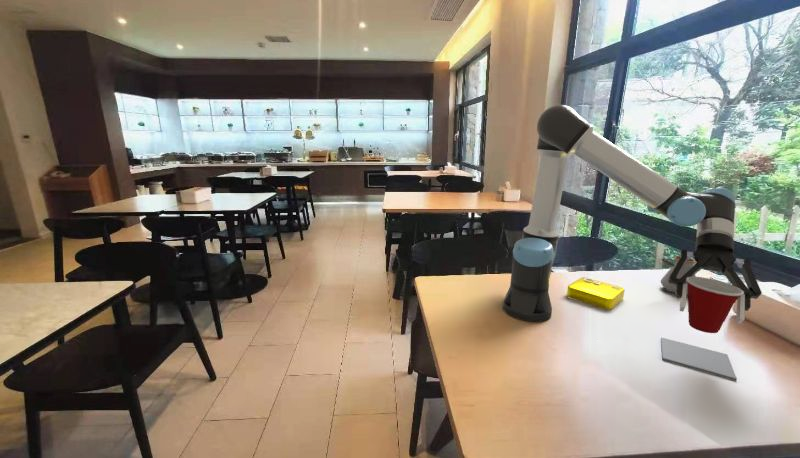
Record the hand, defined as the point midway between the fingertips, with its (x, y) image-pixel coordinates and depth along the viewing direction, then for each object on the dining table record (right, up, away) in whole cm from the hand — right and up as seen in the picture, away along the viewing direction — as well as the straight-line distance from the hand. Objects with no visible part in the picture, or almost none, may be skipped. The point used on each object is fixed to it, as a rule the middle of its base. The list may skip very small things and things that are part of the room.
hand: (710, 315), depth 85 cm
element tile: (-5, -4, +42) cm, 42 cm away
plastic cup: (+2, -4, +4) cm, 6 cm away
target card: (+1, -12, +6) cm, 14 cm away
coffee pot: (+26, -3, +46) cm, 53 cm away
